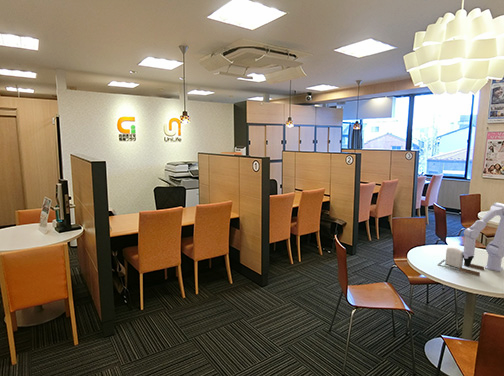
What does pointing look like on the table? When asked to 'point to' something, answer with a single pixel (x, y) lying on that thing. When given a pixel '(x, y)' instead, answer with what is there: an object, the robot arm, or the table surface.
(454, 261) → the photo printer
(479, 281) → the table surface
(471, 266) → the walnut rails
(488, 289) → the table surface
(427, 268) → the table surface
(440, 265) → the charcoal frame
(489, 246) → the robot arm
